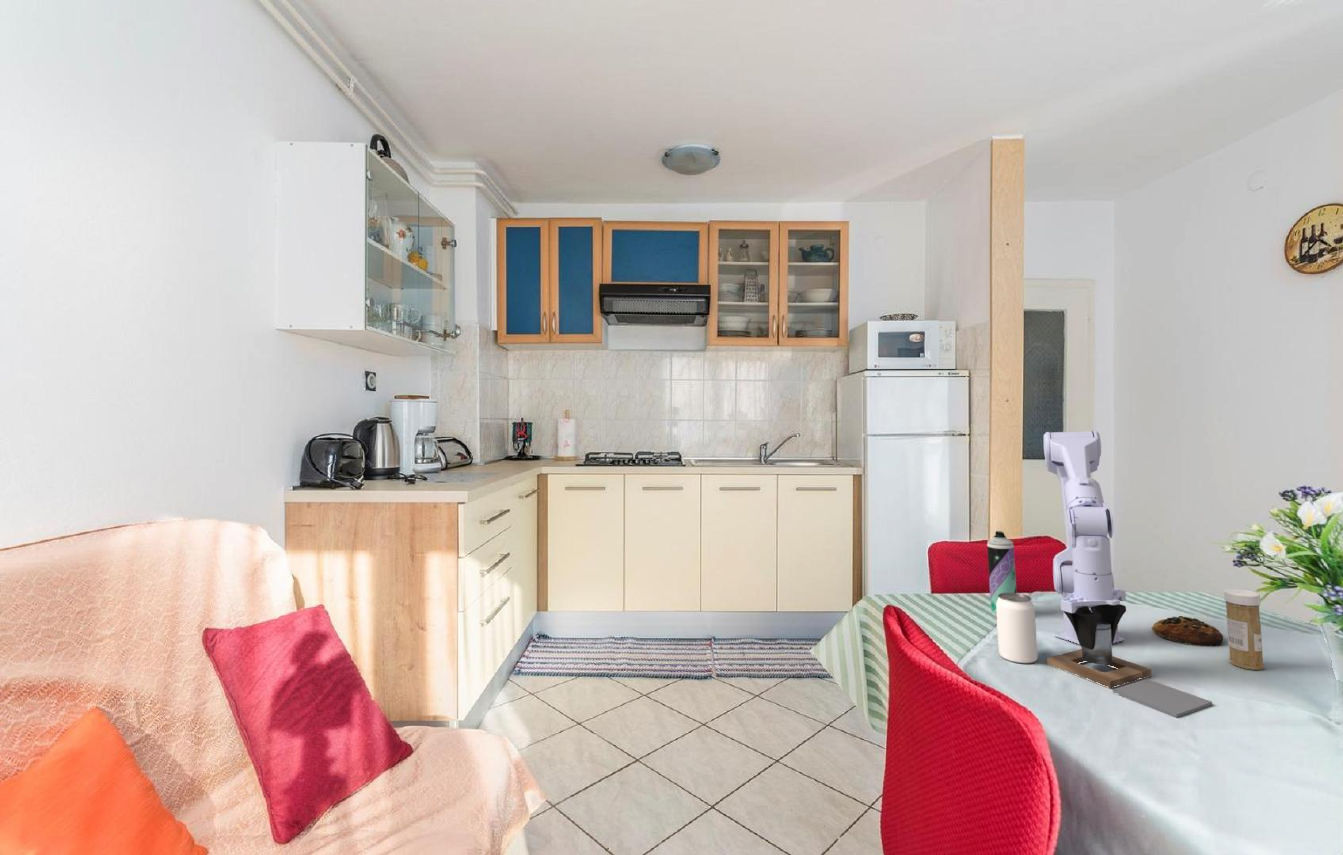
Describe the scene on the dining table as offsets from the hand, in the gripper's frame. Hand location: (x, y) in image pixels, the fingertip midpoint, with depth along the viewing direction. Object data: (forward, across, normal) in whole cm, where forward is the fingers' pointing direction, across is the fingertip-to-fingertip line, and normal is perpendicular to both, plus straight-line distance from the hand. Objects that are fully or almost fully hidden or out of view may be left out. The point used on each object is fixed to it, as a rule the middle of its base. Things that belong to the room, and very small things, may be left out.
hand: (1096, 644), depth 101 cm
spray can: (+5, +11, +28) cm, 30 cm away
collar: (+5, 0, 0) cm, 5 cm away
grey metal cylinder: (+3, 0, 0) cm, 3 cm away
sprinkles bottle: (+5, +24, -10) cm, 26 cm away
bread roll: (+5, +31, +2) cm, 31 cm away
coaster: (+5, -2, -11) cm, 12 cm away
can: (+5, -8, +10) cm, 13 cm away
